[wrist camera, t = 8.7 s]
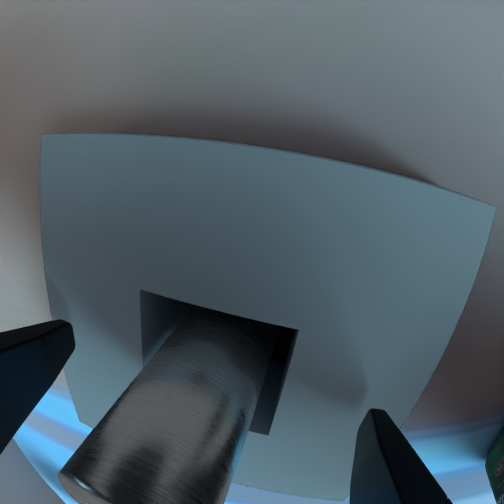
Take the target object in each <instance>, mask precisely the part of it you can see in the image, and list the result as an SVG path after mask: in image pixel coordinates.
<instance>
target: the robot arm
mask: <svg viewBox="0 0 504 504" xmlns="http://www.w3.org/2000/svg"><path fill="white" fill-rule="evenodd" d="M75 346H76V343H75V337H74V332H73V327H72V324H71V323H70V322H67V321H65V320H63V319H57V320H53V321H49V322H44V323H40V324H36V325H31V326H27V327H23V328H18V329H14V330H9V331H5V332H0V454H1V453H2V452H3V450H4V449H5V447H6V446H7V444H8V443H9V442H10V440H11V439H12V437H13V436H14V435H15V433H16V432H17V431H18V429H19V428H20V426H21V425H22V424H23V422H24V421H25V420H26V418H27V417H28V416H29V414H30V413H31V412H32V410H33V409H34V408H35V406H36V405H37V404H38V402H39V401H40V400H41V398H42V397H43V396H44V395H45V393H46V392H47V391H48V389H49V388H50V387H51V385H52V384H53V383H54V381H55V380H56V378H57V376H58V375H59V373H60V372H61V370H62V369H63V367H64V365H65V364H66V362H67V361H68V359H69V358H70V356H71V355H72V353H73V352H74V350H75ZM350 504H453V503H452V502H451V501H450V499H449V498H447V495H446V494H445V492H444V491H443V490H442V488H441V487H440V485H439V484H438V483H437V481H436V480H435V478H434V477H433V476H432V474H431V473H430V471H429V470H428V469H427V467H426V466H425V464H424V463H423V462H422V460H421V459H420V457H419V456H418V455H417V453H416V452H415V451H414V449H413V448H412V446H411V445H410V444H409V442H408V441H407V439H406V438H405V437H404V435H403V434H402V433H401V431H400V430H399V428H398V427H397V426H396V424H395V423H394V422H393V420H392V419H391V417H390V416H389V415H388V413H387V412H386V411H385V410H383V409H377V408H371V409H369V410H368V412H367V414H366V415H365V417H364V419H363V421H362V423H361V424H360V426H359V428H358V431H357V437H356V445H355V453H354V460H353V467H352V474H351V483H350Z"/></svg>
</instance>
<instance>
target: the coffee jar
mask: <svg viewBox="0 0 504 504" xmlns="http://www.w3.org/2000/svg"><path fill="white" fill-rule="evenodd" d="M485 468H486V472H487V475H488V478H489V482H490V485H491V488H492V491H493V494H494V497H495V500H496V503H497V504H504V429H503V431H502V432H501V434H500V435H499V437H498V439H497V440H496V442H495V443H494V445H493V447H492V448H491V450H490V452H489V454H488V456H487V459H486V464H485Z"/></svg>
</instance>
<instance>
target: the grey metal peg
mask: <svg viewBox="0 0 504 504" xmlns="http://www.w3.org/2000/svg"><path fill="white" fill-rule="evenodd" d="M278 330H279V325H275V324H270V323H266V322H262V321H257V320H253V319H249V318H245V317H241V316H236V315H232V314H228V313H224V312H220V311H217V310H213V309H209V308H205V307H201V306H197V305H194V306H193V307H192V309H191V310H190V311H189V312H188V313H187V315H186V316H185V317H184V318H183V320H182V321H181V322H180V323H179V324H178V326H177V327H176V328H175V329H174V330H173V332H172V333H171V334H170V335H169V337H168V338H167V339H166V340H165V341H164V343H163V344H162V345H161V346H160V348H159V349H158V350H157V351H156V352H155V354H154V355H153V356H152V357H151V359H150V360H149V361H148V362H147V363H146V365H145V366H144V367H143V368H142V370H141V371H140V372H139V373H138V374H137V376H136V377H135V378H134V379H133V381H132V382H131V383H130V384H129V386H128V387H127V388H126V389H125V391H124V392H123V393H122V394H121V395H120V397H119V398H118V399H117V400H116V402H115V403H114V404H113V405H112V407H111V408H110V409H109V410H108V412H107V413H106V414H105V415H104V417H103V418H102V419H101V420H100V421H99V423H98V424H97V425H96V426H95V428H94V429H93V430H92V431H91V433H90V434H89V435H88V436H87V438H86V439H85V440H84V441H83V443H82V444H81V445H80V446H79V448H78V449H77V450H76V451H75V453H74V454H73V455H72V457H71V458H70V459H69V460H68V462H67V463H66V464H65V465H64V467H63V468H62V469H61V470H60V472H59V473H58V478H59V481H60V482H61V484H62V485H63V487H64V488H65V489H66V491H67V492H68V493H69V494H70V495H71V496H72V497H73V498H74V499H75V500H76V501H77V502H78V503H80V504H224V502H225V499H226V496H227V493H228V490H229V488H230V485H231V482H232V479H233V476H234V473H235V470H236V467H237V464H238V461H239V458H240V455H241V452H242V449H243V446H244V443H245V440H246V437H247V434H248V431H249V427H250V424H251V421H252V418H253V415H254V412H255V408H256V405H257V402H258V399H259V395H260V392H261V389H262V385H263V382H264V379H265V375H266V372H267V368H268V365H269V362H270V358H271V355H272V351H273V348H274V344H275V341H276V337H277V333H278Z"/></svg>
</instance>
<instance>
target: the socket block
mask: <svg viewBox="0 0 504 504" xmlns="http://www.w3.org/2000/svg"><path fill="white" fill-rule="evenodd" d="M495 211H496V207H495V206H492V205H490V204H487V203H485V202H482V201H480V200H477V199H474V198H472V197H469V196H466V195H463V194H461V193H458V192H455V191H452V190H449V189H446V188H444V187H441V186H437V185H434V184H431V183H427V182H424V181H420V180H417V179H413V178H410V177H406V176H402V175H398V174H395V173H391V172H387V171H383V170H379V169H375V168H371V167H366V166H362V165H358V164H353V163H349V162H344V161H340V160H335V159H330V158H325V157H320V156H315V155H310V154H304V153H299V152H293V151H287V150H281V149H275V148H269V147H262V146H255V145H248V144H241V143H233V142H225V141H217V140H208V139H198V138H188V137H176V136H163V135H148V134H129V133H64V134H42V142H41V159H40V218H41V236H42V249H43V259H44V269H45V277H46V284H47V291H48V298H49V304H50V310H51V316H52V321H53V320H57V319H63V320H65V321H67V322H70V323H71V324H72V327H73V332H74V337H75V343H76V346H75V350H74V352H73V353H72V355H71V356H70V358H69V359H68V361H67V362H66V364H65V365H64V367H63V369H64V373H65V376H66V380H67V383H68V387H69V390H70V393H71V397H72V400H73V403H74V406H75V409H76V412H77V415H78V418H79V421H80V422H82V423H84V424H86V425H88V426H89V427H91V428H93V429H94V428H95V426H96V425H97V424H98V423H99V421H100V420H101V419H102V418H103V417H104V415H105V414H106V413H107V412H108V410H109V409H110V408H111V407H112V405H113V404H114V403H115V402H116V400H117V399H118V398H119V397H120V395H121V394H122V393H123V392H124V391H125V389H126V388H127V387H128V386H129V384H130V383H131V382H132V381H133V379H134V378H135V377H136V376H137V374H138V373H139V372H140V371H141V370H142V368H143V367H144V366H145V365H146V363H147V362H148V361H149V360H150V359H151V357H152V356H153V355H154V354H155V352H156V351H157V350H158V349H159V348H160V346H161V345H162V344H163V343H164V341H165V340H166V339H167V338H168V337H169V335H170V334H171V333H172V332H173V330H174V329H175V328H176V327H177V326H178V324H179V323H180V322H181V321H182V320H183V318H184V317H185V316H186V315H187V313H188V312H189V311H190V310H191V304H194V305H197V306H201V307H205V308H209V309H213V310H217V311H220V312H224V313H228V314H232V315H236V316H241V317H245V318H249V319H253V320H257V321H262V322H266V323H270V324H275V325H279V326H284V327H288V328H293V329H294V332H293V336H292V340H291V344H290V348H289V352H288V355H287V359H286V363H283V362H279V361H274V360H270V362H269V365H268V368H267V372H266V375H265V379H264V382H263V385H262V389H261V392H260V395H259V399H258V402H257V405H256V408H255V412H254V415H253V418H252V421H251V424H250V427H249V431H248V434H247V437H246V440H245V443H244V446H243V449H242V452H241V455H240V458H239V461H238V464H237V467H236V470H235V473H234V476H233V479H232V483H236V484H240V485H244V486H248V487H253V488H257V489H262V490H267V491H272V492H277V493H282V494H288V495H294V496H301V497H308V498H315V499H324V500H334V501H344V500H345V499H346V498H347V497H348V496H349V494H350V483H351V474H352V467H353V460H354V453H355V445H356V437H357V431H358V428H359V426H360V424H361V423H362V421H363V419H364V417H365V415H366V414H367V412H368V410H369V409H371V408H377V409H383V410H385V411H386V412H387V413H388V415H389V416H390V417H391V419H392V420H393V422H394V423H395V424H396V426H397V427H398V428H399V429H400V428H401V426H402V425H403V423H404V422H405V420H406V419H407V417H408V415H409V414H410V412H411V411H412V409H413V407H414V406H415V404H416V403H417V401H418V399H419V398H420V396H421V394H422V392H423V391H424V389H425V387H426V385H427V384H428V382H429V380H430V378H431V376H432V375H433V373H434V371H435V369H436V367H437V365H438V363H439V361H440V359H441V357H442V355H443V353H444V351H445V349H446V347H447V345H448V343H449V341H450V339H451V337H452V335H453V332H454V330H455V328H456V326H457V323H458V321H459V319H460V317H461V314H462V312H463V309H464V307H465V304H466V302H467V299H468V297H469V294H470V292H471V289H472V286H473V284H474V281H475V278H476V275H477V272H478V269H479V266H480V263H481V260H482V257H483V254H484V251H485V248H486V244H487V241H488V237H489V234H490V230H491V226H492V223H493V219H494V215H495Z"/></svg>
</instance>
